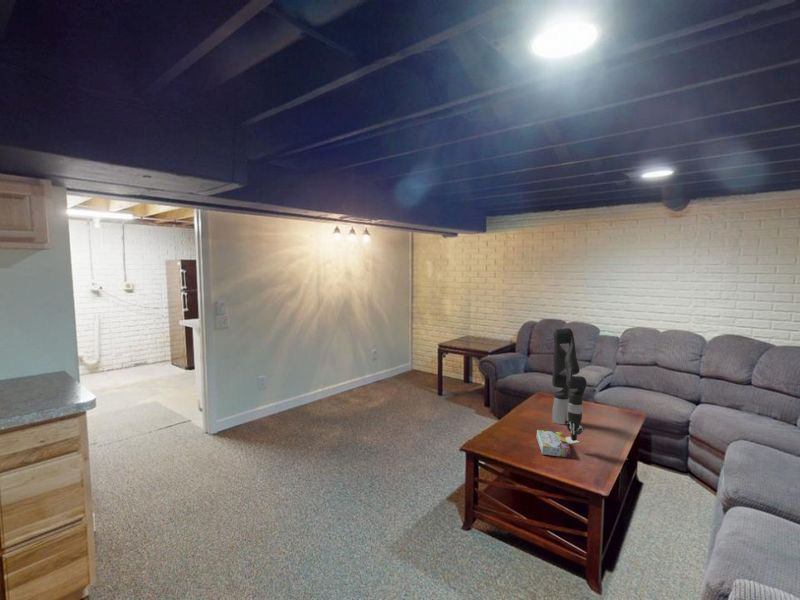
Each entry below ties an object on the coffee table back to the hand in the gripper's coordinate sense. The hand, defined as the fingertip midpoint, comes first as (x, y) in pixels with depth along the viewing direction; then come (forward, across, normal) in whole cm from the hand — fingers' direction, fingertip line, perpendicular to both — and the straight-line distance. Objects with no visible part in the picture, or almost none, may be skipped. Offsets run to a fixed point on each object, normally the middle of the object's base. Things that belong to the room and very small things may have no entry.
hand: (573, 440), depth 229 cm
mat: (+6, -12, 0) cm, 13 cm away
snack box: (+3, -3, -2) cm, 5 cm away
